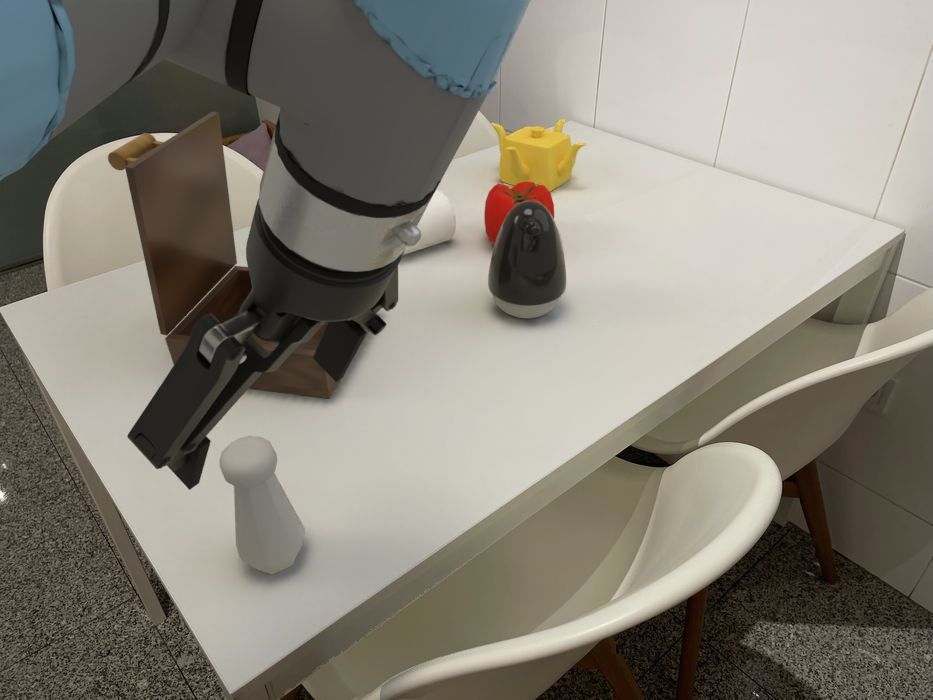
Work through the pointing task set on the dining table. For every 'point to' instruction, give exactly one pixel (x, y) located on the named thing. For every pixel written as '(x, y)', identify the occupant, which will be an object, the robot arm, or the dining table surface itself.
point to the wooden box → (294, 372)
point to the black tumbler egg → (527, 262)
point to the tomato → (511, 203)
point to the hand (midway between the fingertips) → (260, 415)
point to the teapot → (536, 155)
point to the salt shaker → (261, 506)
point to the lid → (180, 214)
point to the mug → (435, 223)
